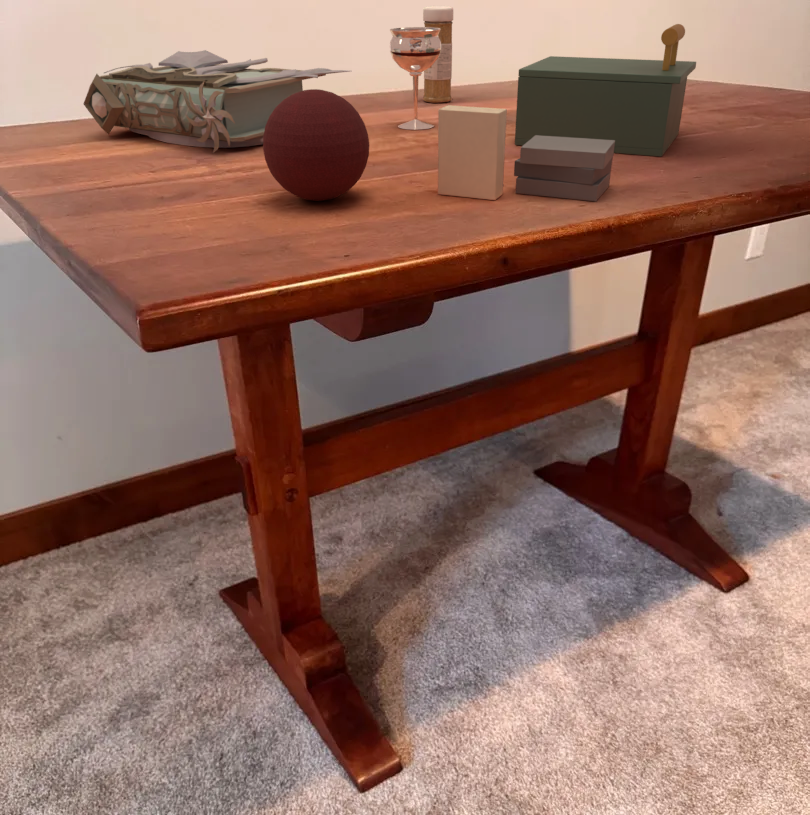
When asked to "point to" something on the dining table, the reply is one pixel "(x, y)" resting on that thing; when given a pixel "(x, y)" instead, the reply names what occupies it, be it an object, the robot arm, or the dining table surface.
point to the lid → (619, 65)
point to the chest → (601, 112)
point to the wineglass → (415, 59)
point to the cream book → (471, 151)
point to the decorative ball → (316, 145)
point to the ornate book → (195, 99)
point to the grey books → (564, 167)
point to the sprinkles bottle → (441, 70)
